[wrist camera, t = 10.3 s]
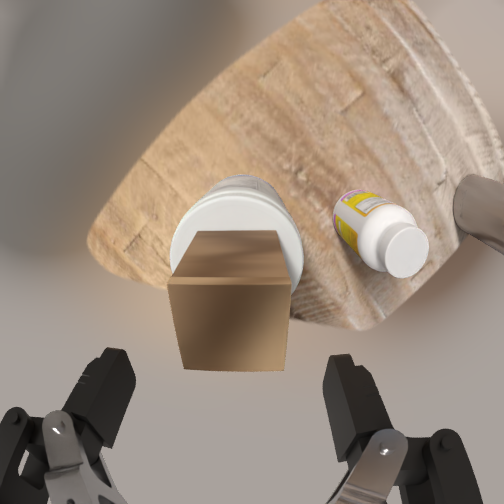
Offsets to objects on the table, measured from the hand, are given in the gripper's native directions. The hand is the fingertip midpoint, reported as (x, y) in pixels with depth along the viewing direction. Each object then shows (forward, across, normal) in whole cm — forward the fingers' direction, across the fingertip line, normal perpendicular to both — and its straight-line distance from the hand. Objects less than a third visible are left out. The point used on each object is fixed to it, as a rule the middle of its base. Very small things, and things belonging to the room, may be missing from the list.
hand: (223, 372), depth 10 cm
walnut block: (+9, 0, 0) cm, 9 cm away
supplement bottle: (+24, -14, 0) cm, 28 cm away
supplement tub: (+24, 0, 0) cm, 24 cm away
